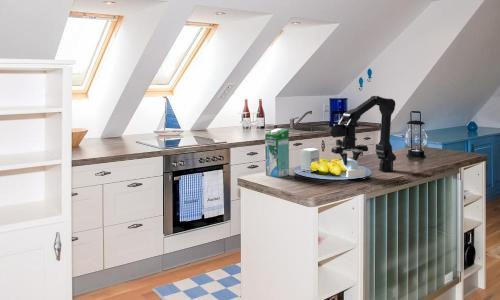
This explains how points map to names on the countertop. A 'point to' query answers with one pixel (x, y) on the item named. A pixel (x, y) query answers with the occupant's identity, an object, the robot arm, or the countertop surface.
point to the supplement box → (309, 157)
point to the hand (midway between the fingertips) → (349, 165)
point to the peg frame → (355, 173)
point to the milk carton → (277, 152)
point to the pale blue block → (350, 164)
